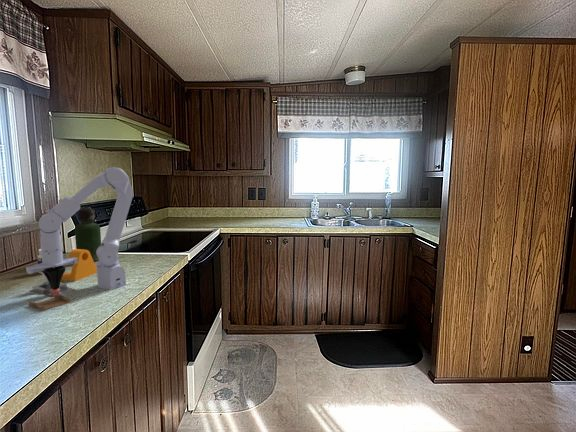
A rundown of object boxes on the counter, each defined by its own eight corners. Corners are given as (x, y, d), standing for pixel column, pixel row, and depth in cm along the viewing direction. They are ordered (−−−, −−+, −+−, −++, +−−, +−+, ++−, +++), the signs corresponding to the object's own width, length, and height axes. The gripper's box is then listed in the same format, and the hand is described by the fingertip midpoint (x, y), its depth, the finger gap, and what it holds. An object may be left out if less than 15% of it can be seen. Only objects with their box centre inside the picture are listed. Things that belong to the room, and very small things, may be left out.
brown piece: (70, 305, 103) (70, 298, 103) (42, 314, 96) (41, 307, 96) (57, 300, 107) (56, 293, 107) (28, 308, 100) (28, 302, 100)
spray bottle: (74, 263, 150) (70, 210, 147) (80, 258, 160) (76, 207, 156) (99, 262, 153) (96, 209, 150) (104, 256, 163) (101, 207, 160)
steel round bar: (58, 288, 116) (56, 269, 115) (46, 291, 113) (45, 271, 112) (52, 286, 117) (51, 267, 117) (41, 289, 114) (39, 270, 113)
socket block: (77, 292, 114) (76, 286, 114) (51, 300, 107) (51, 293, 107) (56, 286, 121) (56, 280, 120) (31, 292, 114) (30, 286, 113)
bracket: (82, 274, 135) (80, 245, 134) (97, 275, 134) (95, 246, 132) (59, 282, 125) (56, 252, 123) (75, 283, 123) (73, 253, 122)
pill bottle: (35, 274, 134) (33, 250, 133) (43, 270, 140) (41, 247, 138) (51, 273, 135) (49, 250, 134) (58, 269, 140) (56, 247, 139)
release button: (61, 295, 111) (61, 288, 111) (53, 297, 109) (53, 290, 109) (57, 293, 112) (57, 287, 112) (50, 296, 110) (49, 289, 110)
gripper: (32, 255, 100) (36, 298, 102) (81, 246, 113) (84, 284, 114) (21, 253, 104) (25, 293, 105) (70, 244, 116) (72, 281, 118)
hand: (55, 288), depth 110 cm, fingers closed, pressing on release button
